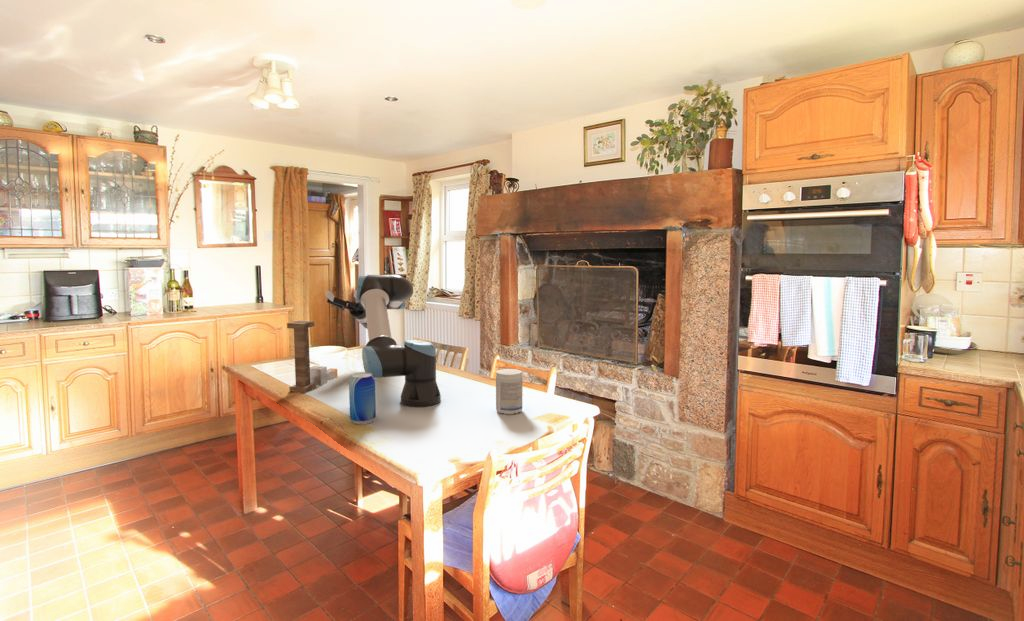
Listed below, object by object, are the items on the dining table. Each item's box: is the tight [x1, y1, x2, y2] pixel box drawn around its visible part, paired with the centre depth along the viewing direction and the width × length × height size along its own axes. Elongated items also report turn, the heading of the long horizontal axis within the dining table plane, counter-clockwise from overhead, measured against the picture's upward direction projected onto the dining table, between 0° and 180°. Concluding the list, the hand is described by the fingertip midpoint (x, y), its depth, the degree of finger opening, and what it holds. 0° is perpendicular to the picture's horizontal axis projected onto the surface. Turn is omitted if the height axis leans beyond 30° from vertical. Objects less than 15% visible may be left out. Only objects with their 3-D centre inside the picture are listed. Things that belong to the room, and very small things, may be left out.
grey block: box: [310, 365, 338, 386], centre depth 226 cm, size 16×6×7 cm, turn 170°
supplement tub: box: [495, 368, 523, 415], centre depth 185 cm, size 10×10×15 cm
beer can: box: [348, 372, 377, 425], centre depth 172 cm, size 8×8×16 cm
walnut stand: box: [286, 320, 317, 394], centre depth 209 cm, size 8×7×28 cm
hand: (340, 292), depth 224 cm, fingers open, 13 cm apart
